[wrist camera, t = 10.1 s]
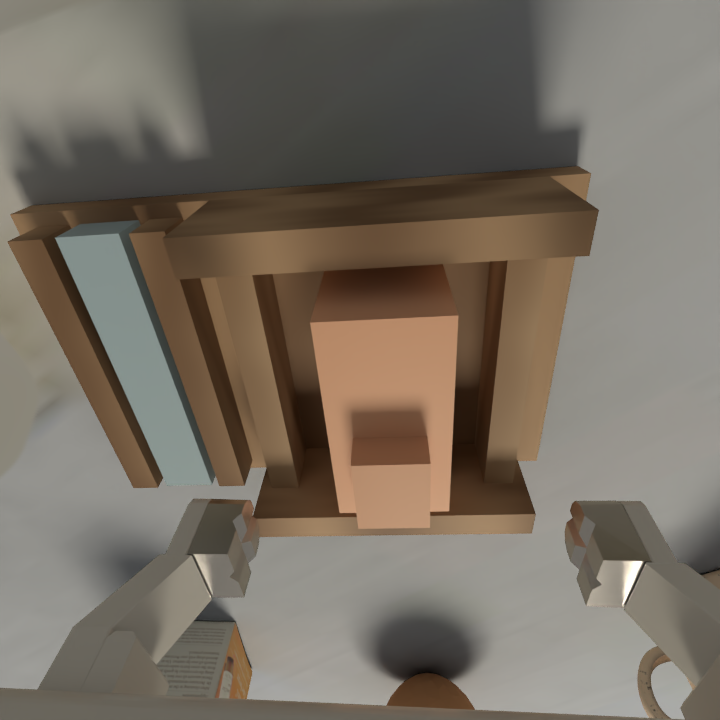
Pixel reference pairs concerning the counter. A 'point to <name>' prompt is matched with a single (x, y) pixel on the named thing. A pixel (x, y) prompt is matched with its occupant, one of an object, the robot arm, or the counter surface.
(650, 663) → the teacup with lid
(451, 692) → the egg
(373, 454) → the block
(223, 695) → the small box
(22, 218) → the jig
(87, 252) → the plank
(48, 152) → the counter surface
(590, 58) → the counter surface
